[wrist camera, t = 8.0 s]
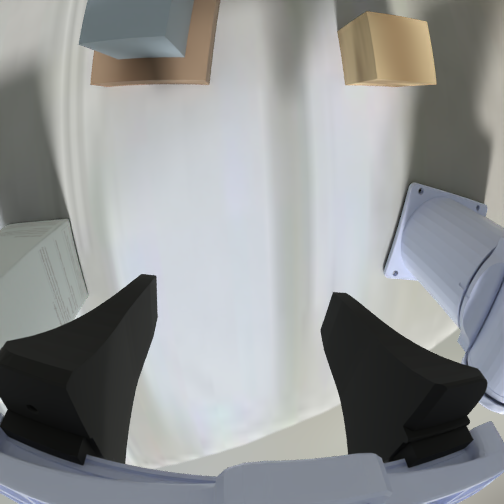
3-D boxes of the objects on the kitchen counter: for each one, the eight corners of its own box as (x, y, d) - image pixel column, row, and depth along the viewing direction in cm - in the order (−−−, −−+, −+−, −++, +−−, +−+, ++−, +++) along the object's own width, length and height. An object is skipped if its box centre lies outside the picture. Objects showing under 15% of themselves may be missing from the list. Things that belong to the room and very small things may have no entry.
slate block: (194, -3, 12) (180, -40, 8) (184, 57, 14) (165, 36, 9) (128, 1, 12) (96, -29, 7) (118, 59, 14) (78, 44, 9)
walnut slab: (221, -7, 14) (219, -24, 12) (209, 85, 17) (205, 80, 15) (122, -2, 14) (106, -15, 11) (109, 87, 17) (90, 84, 14)
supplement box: (7, 222, 20) (-90, 300, 8) (71, 216, 20) (-35, 313, 9) (28, 295, 23) (-41, 388, 11) (90, 298, 23) (26, 415, 12)
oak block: (388, 35, 16) (426, 21, 11) (396, 86, 17) (436, 84, 13) (337, 31, 16) (366, 11, 11) (345, 85, 17) (377, 79, 13)
